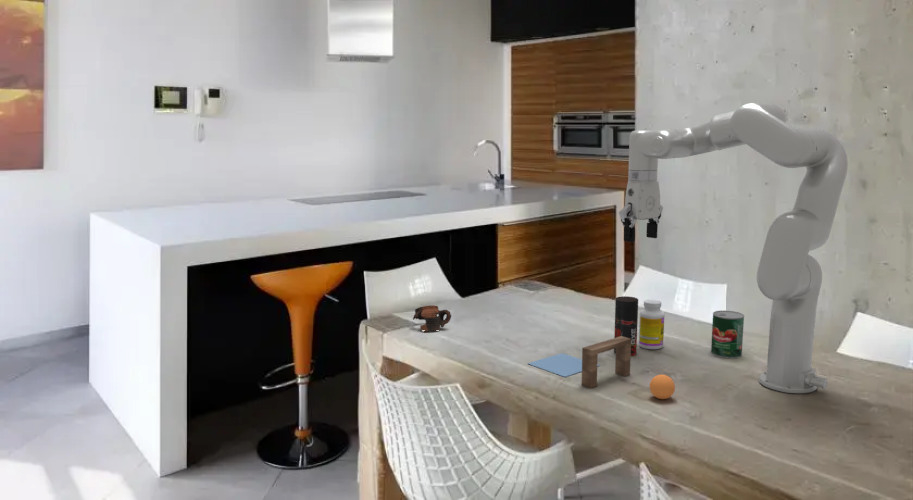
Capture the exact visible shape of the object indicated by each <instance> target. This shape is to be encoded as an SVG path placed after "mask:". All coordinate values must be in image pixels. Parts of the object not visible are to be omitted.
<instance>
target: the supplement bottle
mask: <svg viewBox="0 0 913 500" xmlns="http://www.w3.org/2000/svg"><path fill="white" fill-rule="evenodd" d="M643 307H644V308H643V309H641V310H640V311H639V324H638V326H639V327H638V331H639V332H638V345H639V347H641V348H643V349H646V350H659V349H662V348H663V347H664V336H665V335H664V333H665V312H664V311H663V310H661V307H662V301H661V300H657V299H645V300H643Z"/></svg>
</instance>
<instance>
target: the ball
mask: <svg viewBox="0 0 913 500" xmlns="http://www.w3.org/2000/svg"><path fill="white" fill-rule="evenodd" d="M649 390H650V393H651V394H652V396H654V397H655V398H657V399H659V400H667V399H669V398H671V397H672V396H673V395H674V393H675V390H676V385H675V382H674V381H673V379H672V378H671V376H668V375H666V374H657V375H655V376H654V377H652V379H651V380H650V383H649Z"/></svg>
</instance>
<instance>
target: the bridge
mask: <svg viewBox="0 0 913 500" xmlns="http://www.w3.org/2000/svg"><path fill="white" fill-rule="evenodd" d="M615 348H616V354H615V364H614V365H615V369H614V374H616V375H620V376H621V377H622V376H623V377H627V376H629V375H631V358H632V356H631V339H630V338H627V337H623V336H620V337H617V338H611V339H607V340H603V341H601V342H598V343H593V344H589V345H587V346H584V347H582V351H581V352H582V354H581V355H582V356H581V359H582V372H581V385H582V386H584V387H587V388H589V389H592V388H596V387H598V367H597V365H598V362H599V361H598V358H599V357H598V356H599V354H602V353H605V352H608V351H611V350H614V349H615Z"/></svg>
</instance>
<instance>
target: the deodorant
mask: <svg viewBox="0 0 913 500" xmlns="http://www.w3.org/2000/svg"><path fill="white" fill-rule="evenodd" d="M614 308H615V309H614V310H615V311H614V335H613V337H614V338H617V337H620V336H623V337H627V338H630V339H631V357H634V356H636V355H637V347H638V342H637V341H638V318H639V299H638V298H637V297H633V296H617V297H615V305H614ZM613 354H614V355H616V348H615V349H613Z"/></svg>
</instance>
